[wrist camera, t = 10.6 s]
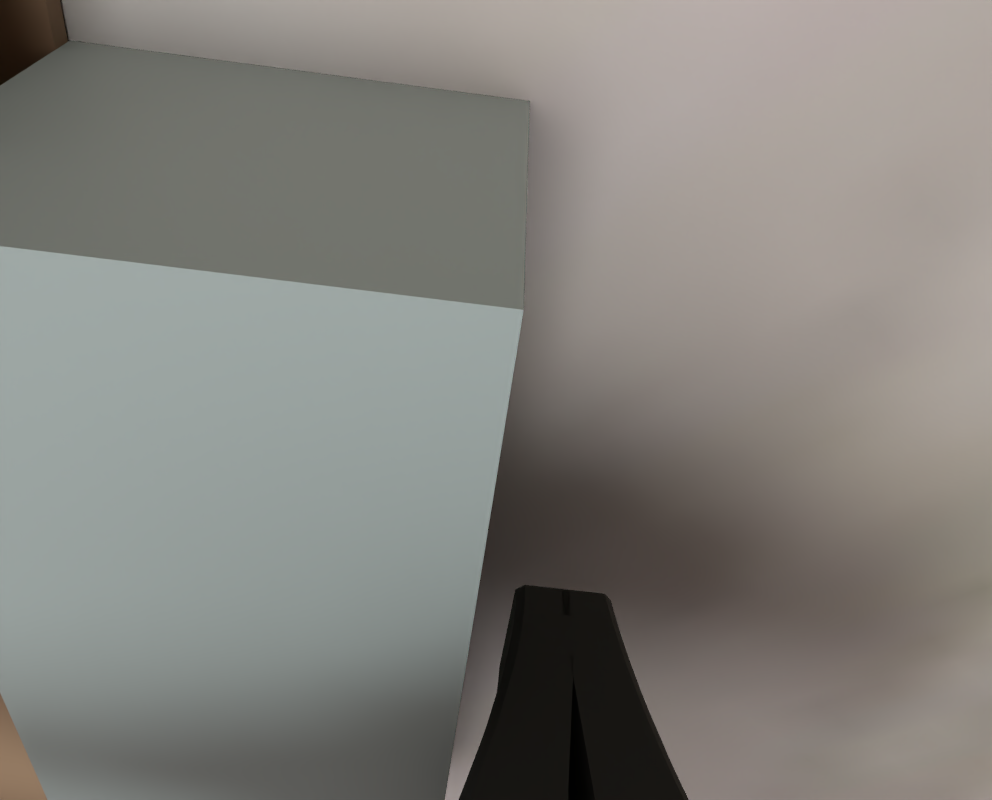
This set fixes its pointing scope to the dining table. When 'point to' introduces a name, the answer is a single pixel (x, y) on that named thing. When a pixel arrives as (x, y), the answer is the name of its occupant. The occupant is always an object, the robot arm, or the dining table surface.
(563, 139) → the dining table surface
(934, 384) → the dining table surface
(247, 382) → the tongue plank
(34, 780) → the grooved board
